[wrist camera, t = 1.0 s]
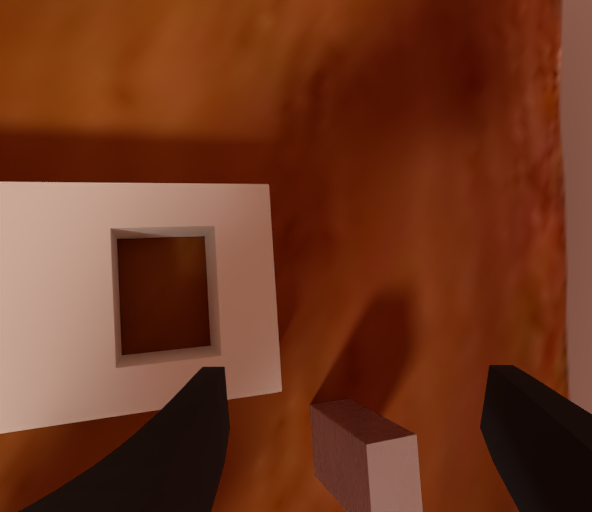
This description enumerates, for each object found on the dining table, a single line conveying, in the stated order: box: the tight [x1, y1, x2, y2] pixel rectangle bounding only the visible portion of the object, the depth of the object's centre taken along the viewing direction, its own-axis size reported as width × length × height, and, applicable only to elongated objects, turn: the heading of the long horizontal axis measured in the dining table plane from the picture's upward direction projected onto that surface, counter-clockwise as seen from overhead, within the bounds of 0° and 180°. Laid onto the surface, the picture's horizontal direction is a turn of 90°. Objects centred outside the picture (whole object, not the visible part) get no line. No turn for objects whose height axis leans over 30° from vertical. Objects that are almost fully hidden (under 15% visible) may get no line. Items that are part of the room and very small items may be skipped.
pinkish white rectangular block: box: [310, 398, 423, 512], centre depth 22 cm, size 4×2×7 cm, turn 4°
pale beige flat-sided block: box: [0, 182, 282, 434], centre depth 19 cm, size 10×22×4 cm, turn 93°
